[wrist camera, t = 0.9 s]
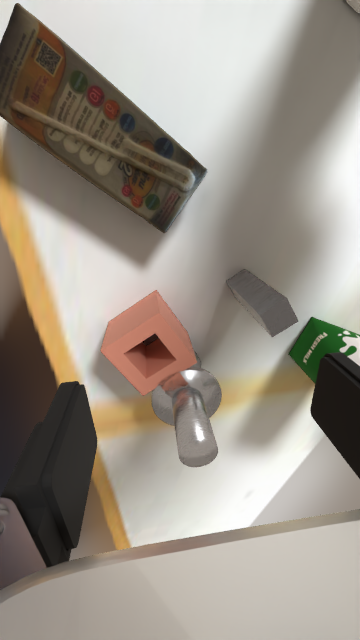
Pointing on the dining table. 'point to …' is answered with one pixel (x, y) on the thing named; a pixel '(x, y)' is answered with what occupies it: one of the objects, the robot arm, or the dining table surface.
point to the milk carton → (323, 345)
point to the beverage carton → (91, 123)
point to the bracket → (156, 358)
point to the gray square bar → (262, 302)
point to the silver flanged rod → (191, 413)
